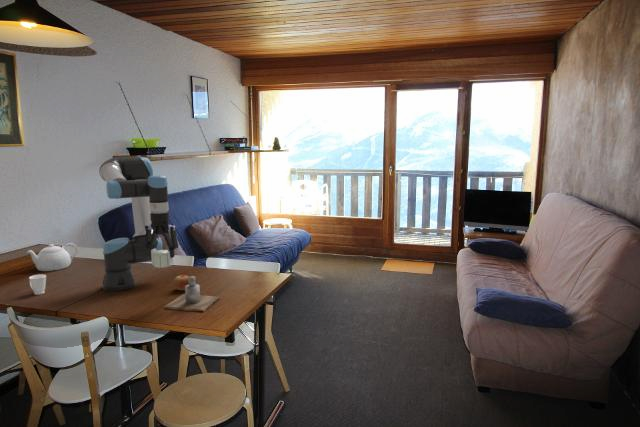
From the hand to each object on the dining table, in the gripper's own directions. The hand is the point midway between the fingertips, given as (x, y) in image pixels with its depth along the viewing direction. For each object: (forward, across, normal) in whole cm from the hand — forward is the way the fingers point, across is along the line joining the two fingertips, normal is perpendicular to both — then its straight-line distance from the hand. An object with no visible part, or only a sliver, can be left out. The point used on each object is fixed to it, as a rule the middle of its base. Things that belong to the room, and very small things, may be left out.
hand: (162, 264), depth 190 cm
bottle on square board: (+18, +12, +3) cm, 22 cm away
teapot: (+16, -94, +36) cm, 102 cm away
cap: (+1, 0, 0) cm, 1 cm away
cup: (+17, -67, -1) cm, 69 cm away
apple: (+18, -2, +18) cm, 25 cm away
